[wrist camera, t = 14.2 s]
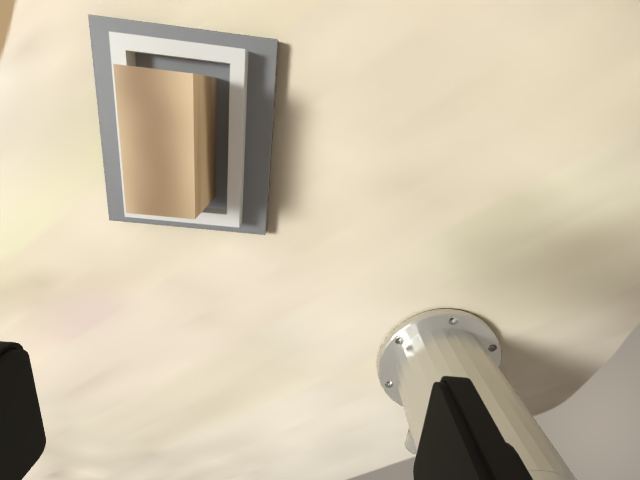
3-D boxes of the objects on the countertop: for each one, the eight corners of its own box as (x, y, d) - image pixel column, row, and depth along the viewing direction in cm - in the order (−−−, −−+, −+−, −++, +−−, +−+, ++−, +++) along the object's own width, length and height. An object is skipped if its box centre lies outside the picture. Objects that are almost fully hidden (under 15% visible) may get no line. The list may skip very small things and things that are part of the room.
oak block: (216, 77, 27) (193, 73, 21) (215, 196, 30) (195, 219, 25) (153, 70, 27) (113, 63, 21) (159, 190, 30) (126, 212, 24)
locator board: (266, 230, 32) (263, 241, 30) (115, 216, 32) (99, 226, 29) (278, 41, 27) (275, 36, 25) (96, 17, 26) (75, 9, 24)
